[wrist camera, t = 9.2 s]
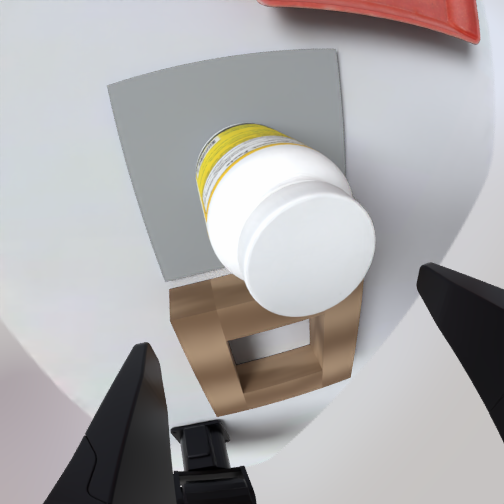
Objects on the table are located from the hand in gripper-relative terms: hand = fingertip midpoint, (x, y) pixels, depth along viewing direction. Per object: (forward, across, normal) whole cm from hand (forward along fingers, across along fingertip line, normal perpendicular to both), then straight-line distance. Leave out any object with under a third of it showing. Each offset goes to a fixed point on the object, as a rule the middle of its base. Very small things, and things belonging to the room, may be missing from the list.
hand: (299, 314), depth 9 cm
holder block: (+13, -1, +14) cm, 19 cm away
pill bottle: (+12, -1, -1) cm, 13 cm away
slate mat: (+13, -1, -1) cm, 13 cm away
